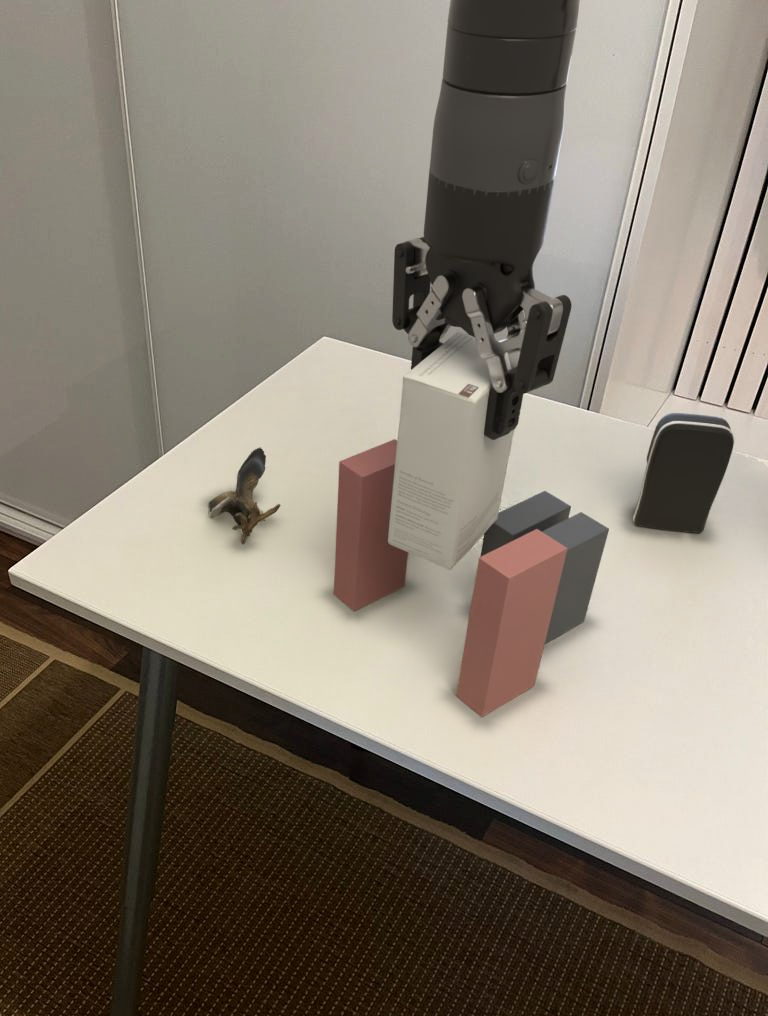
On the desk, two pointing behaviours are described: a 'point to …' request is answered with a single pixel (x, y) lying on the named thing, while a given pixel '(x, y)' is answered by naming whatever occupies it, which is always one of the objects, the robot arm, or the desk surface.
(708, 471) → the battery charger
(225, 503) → the eagle figurine
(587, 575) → the grey book
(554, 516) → the grey book
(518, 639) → the rose book
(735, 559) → the desk surface
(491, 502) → the cosmetic box
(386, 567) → the rose book
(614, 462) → the desk surface
